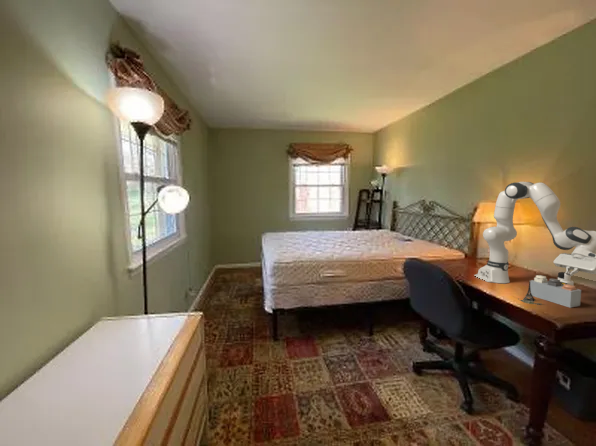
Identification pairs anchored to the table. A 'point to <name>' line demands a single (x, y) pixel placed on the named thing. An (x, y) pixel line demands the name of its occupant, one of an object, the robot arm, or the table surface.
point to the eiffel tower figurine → (526, 299)
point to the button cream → (540, 279)
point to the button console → (555, 294)
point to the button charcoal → (554, 282)
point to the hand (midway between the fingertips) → (568, 274)
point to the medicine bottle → (565, 278)
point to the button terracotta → (569, 287)
